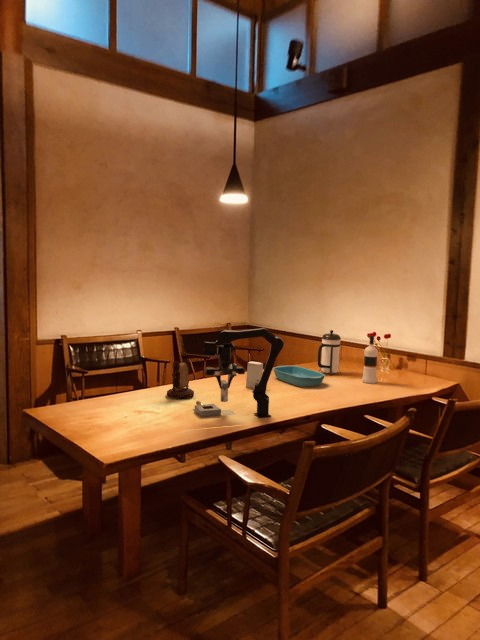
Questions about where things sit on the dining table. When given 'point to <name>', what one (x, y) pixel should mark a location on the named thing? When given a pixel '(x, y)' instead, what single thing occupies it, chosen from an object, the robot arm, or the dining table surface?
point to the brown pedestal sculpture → (178, 385)
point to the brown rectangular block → (224, 391)
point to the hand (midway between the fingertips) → (224, 388)
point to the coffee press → (329, 353)
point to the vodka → (370, 363)
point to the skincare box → (253, 373)
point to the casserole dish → (298, 376)
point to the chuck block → (207, 410)
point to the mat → (227, 412)
